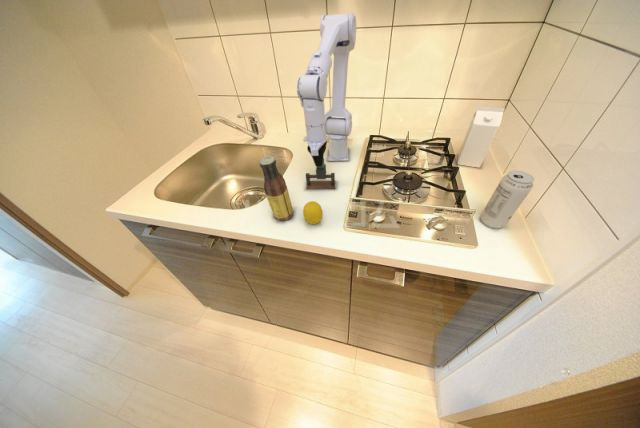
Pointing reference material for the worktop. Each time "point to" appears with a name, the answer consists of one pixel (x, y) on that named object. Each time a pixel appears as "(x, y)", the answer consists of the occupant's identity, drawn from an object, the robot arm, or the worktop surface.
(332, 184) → the handle rail
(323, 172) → the clip
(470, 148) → the milk carton
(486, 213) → the energy drink can
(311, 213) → the lemon
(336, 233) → the worktop surface
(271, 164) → the sauce bottle
